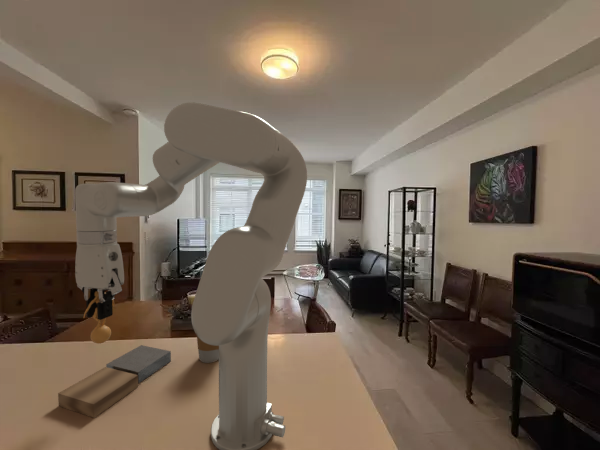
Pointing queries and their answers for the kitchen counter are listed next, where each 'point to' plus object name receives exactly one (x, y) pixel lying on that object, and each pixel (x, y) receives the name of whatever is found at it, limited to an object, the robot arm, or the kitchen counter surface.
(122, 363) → the grey metal stand
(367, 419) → the kitchen counter surface
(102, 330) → the figurine
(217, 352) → the coffee cup
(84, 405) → the walnut stand
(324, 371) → the kitchen counter surface
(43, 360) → the kitchen counter surface
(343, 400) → the kitchen counter surface
